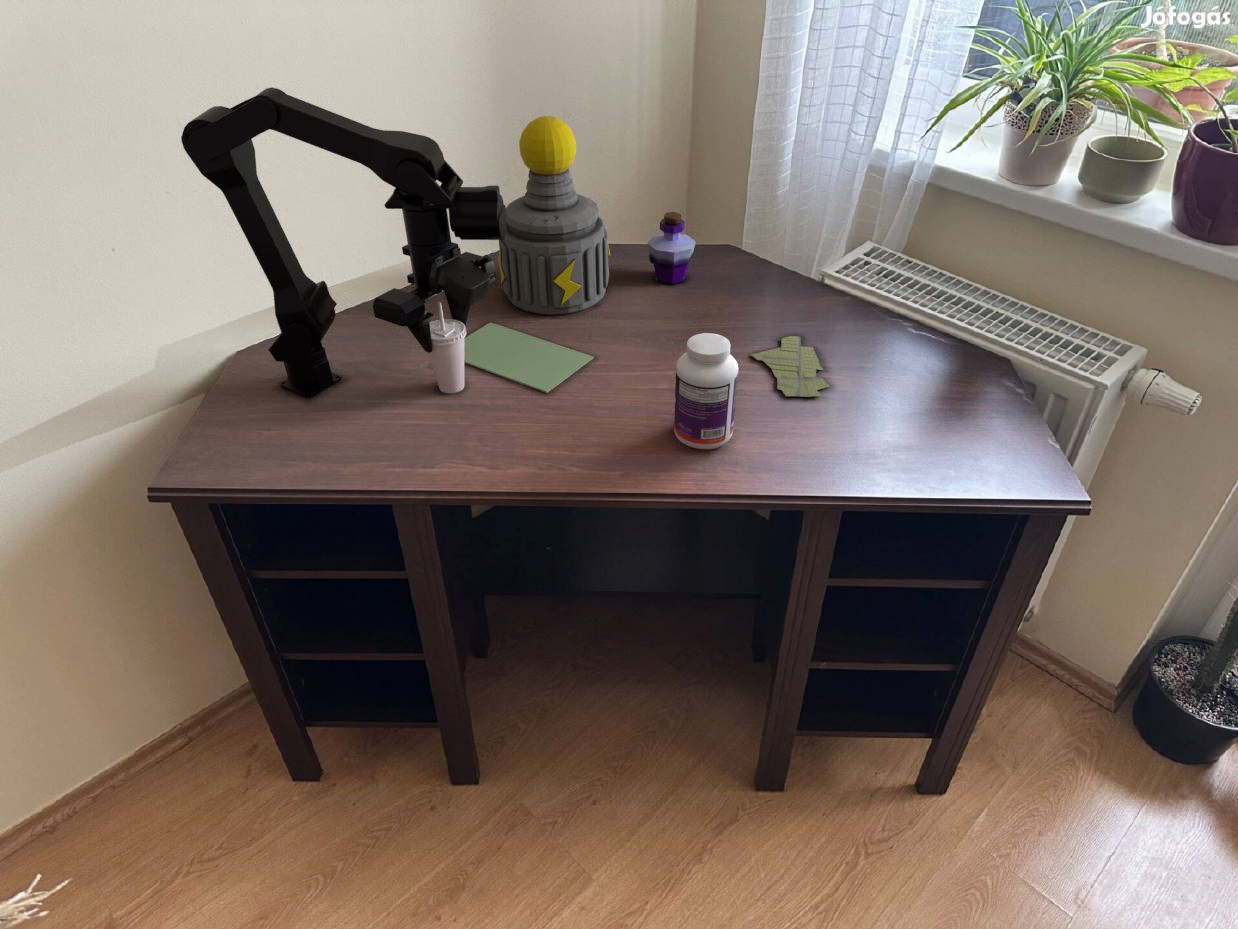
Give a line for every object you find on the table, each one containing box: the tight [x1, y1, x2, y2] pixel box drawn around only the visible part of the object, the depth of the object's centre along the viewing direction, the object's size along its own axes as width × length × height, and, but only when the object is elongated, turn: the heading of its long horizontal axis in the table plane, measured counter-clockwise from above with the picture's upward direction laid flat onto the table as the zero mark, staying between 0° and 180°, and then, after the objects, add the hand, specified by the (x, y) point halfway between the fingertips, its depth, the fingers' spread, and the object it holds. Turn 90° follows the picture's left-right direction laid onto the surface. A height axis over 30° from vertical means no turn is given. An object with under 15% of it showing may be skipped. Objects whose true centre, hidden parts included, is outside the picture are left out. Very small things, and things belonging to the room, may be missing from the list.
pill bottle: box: [673, 332, 739, 450], centre depth 115 cm, size 8×8×14 cm
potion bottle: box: [647, 211, 697, 286], centre depth 155 cm, size 9×9×12 cm
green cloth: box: [464, 322, 595, 394], centre depth 136 cm, size 21×12×1 cm, turn 56°
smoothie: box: [427, 301, 467, 394], centre depth 125 cm, size 6×6×14 cm
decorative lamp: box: [497, 115, 611, 316], centre depth 145 cm, size 19×19×30 cm
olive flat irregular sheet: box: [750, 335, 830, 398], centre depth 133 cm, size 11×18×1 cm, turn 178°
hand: (444, 342), depth 125 cm, fingers closed on smoothie, 6 cm apart
